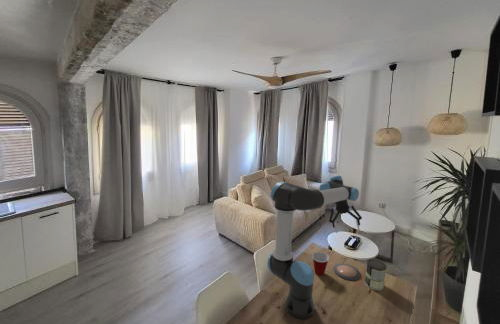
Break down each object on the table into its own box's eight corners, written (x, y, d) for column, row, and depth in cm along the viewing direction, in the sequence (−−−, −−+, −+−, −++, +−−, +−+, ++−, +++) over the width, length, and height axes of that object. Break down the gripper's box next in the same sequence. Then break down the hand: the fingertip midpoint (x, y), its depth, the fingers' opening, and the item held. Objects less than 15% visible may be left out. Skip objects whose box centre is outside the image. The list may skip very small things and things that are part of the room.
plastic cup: (307, 268, 157) (309, 252, 155) (323, 267, 159) (324, 251, 157) (314, 279, 147) (316, 261, 144) (330, 277, 148) (332, 260, 146)
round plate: (335, 278, 148) (336, 276, 148) (332, 263, 163) (332, 261, 163) (362, 282, 145) (363, 280, 145) (356, 266, 161) (356, 265, 160)
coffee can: (361, 282, 144) (363, 262, 142) (370, 276, 150) (372, 256, 148) (378, 293, 136) (381, 271, 134) (386, 286, 142) (390, 265, 139)
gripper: (360, 195, 152) (368, 228, 151) (322, 200, 163) (328, 231, 161) (361, 197, 146) (369, 231, 144) (320, 202, 156) (327, 234, 155)
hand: (347, 231), depth 153 cm, fingers open, 13 cm apart
